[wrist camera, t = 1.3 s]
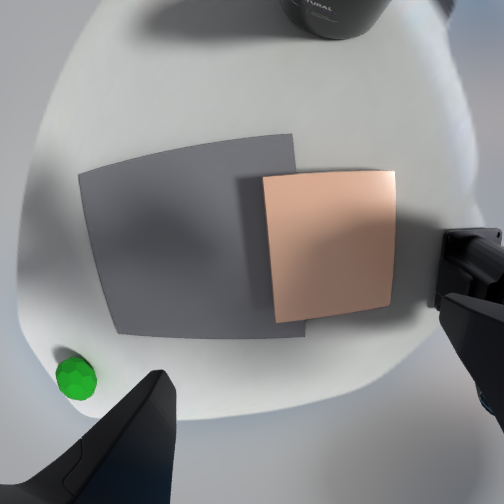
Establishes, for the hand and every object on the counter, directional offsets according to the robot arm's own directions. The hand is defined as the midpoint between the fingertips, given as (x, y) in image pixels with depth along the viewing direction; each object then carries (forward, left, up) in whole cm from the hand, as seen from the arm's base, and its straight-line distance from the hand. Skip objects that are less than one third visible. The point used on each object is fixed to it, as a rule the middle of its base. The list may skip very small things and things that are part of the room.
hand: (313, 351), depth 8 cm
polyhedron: (+24, +13, -12) cm, 30 cm away
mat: (+8, 0, -11) cm, 14 cm away
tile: (+2, 0, -10) cm, 10 cm away
